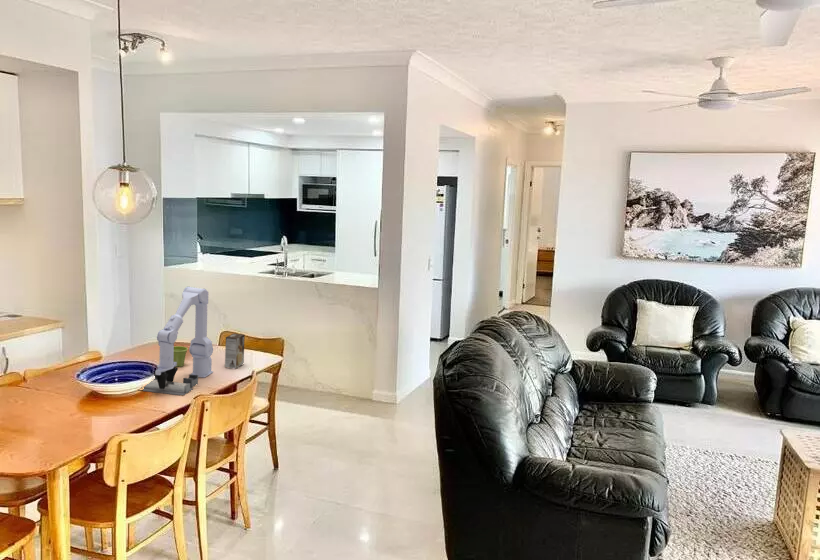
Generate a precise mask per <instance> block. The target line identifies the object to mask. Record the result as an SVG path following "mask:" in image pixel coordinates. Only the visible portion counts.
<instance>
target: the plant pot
mask: <svg viewBox="0 0 820 560" xmlns="http://www.w3.org/2000/svg"><path fill="white" fill-rule="evenodd" d="M188 350H189V348H188V347H186V346H181V345H179V346H178V345H174V358H173V362H177V366H176V367H175V368H178V367H183V366H184V365H185V359H186V354H187V351H188Z"/></svg>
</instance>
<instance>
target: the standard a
mask: <svg viewBox="0 0 820 560" xmlns="http://www.w3.org/2000/svg"><path fill="white" fill-rule="evenodd" d="M182 383H186V384H188V383H190V388H192V389H193V388H194V387H196V386H197V385H199V377H198V375H192V374H191V373H190V374H188V377H183V379H182ZM196 384H197V385H196ZM195 385H196V386H195ZM193 386H194V387H193Z"/></svg>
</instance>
